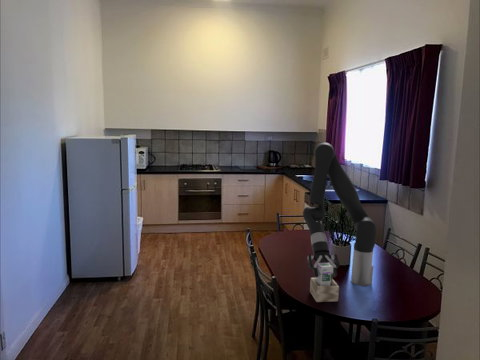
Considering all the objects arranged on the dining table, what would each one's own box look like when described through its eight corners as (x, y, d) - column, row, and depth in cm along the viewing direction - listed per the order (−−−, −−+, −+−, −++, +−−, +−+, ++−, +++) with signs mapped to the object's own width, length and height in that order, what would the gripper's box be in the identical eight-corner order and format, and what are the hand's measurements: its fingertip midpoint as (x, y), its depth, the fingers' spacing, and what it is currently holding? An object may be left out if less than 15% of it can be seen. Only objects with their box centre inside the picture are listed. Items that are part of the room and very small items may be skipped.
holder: (330, 291, 184) (331, 277, 182) (338, 301, 174) (339, 286, 173) (309, 291, 182) (310, 277, 181) (316, 301, 172) (317, 287, 171)
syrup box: (319, 297, 175) (322, 267, 172) (314, 291, 180) (316, 262, 178) (331, 296, 176) (333, 266, 173) (325, 290, 181) (328, 261, 179)
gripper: (307, 240, 180) (313, 273, 171) (336, 240, 182) (343, 273, 173) (303, 247, 187) (308, 280, 177) (331, 247, 188) (338, 279, 179)
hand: (326, 276), depth 175 cm, fingers open, 8 cm apart
